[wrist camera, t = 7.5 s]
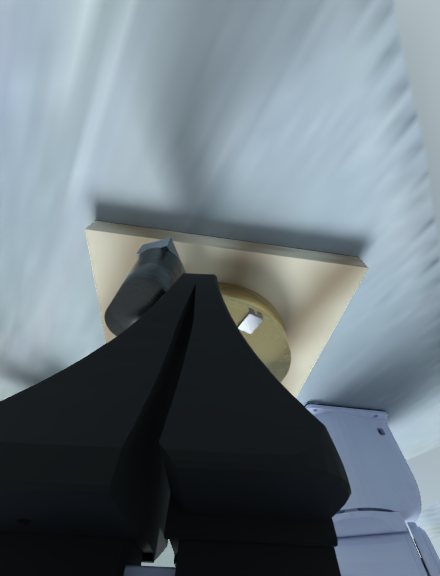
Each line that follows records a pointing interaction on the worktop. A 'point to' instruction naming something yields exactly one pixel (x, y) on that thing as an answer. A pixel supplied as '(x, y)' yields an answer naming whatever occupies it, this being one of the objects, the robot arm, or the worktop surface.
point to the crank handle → (239, 300)
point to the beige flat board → (243, 281)
